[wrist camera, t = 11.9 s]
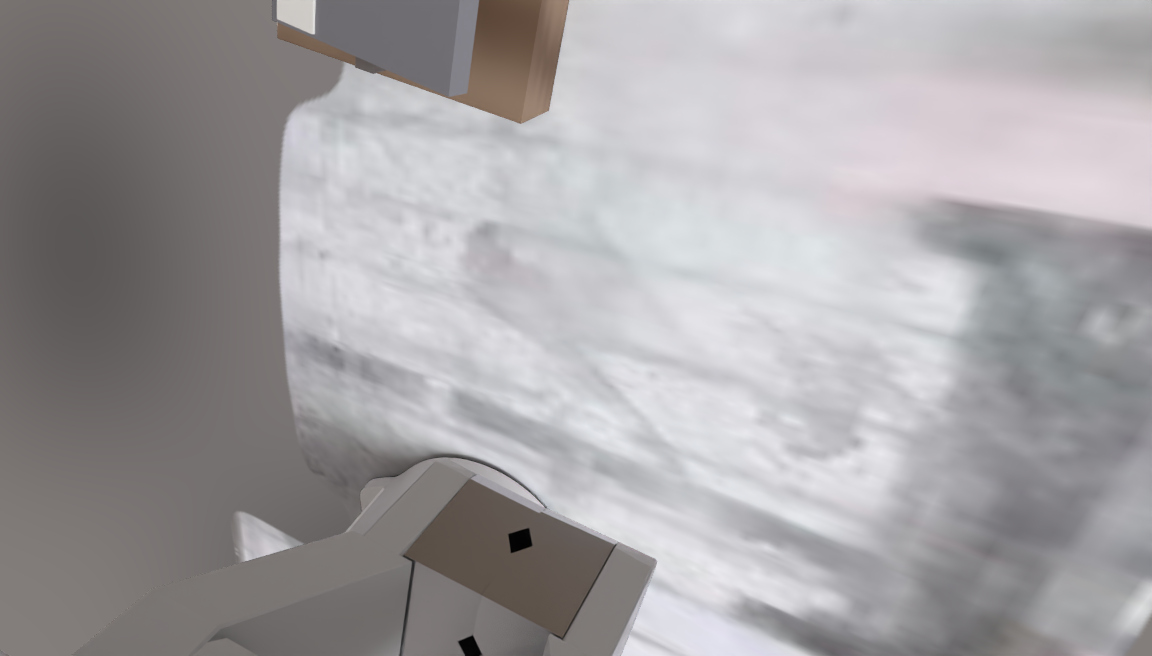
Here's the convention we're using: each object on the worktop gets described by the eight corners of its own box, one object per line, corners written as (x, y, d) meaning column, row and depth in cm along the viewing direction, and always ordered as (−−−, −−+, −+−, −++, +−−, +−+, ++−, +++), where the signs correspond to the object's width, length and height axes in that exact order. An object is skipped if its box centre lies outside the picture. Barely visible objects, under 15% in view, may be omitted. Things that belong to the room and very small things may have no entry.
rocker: (467, 93, 34) (446, 97, 33) (292, 18, 38) (269, 20, 37) (479, -5, 32) (457, -4, 31) (293, -73, 36) (269, -73, 35)
